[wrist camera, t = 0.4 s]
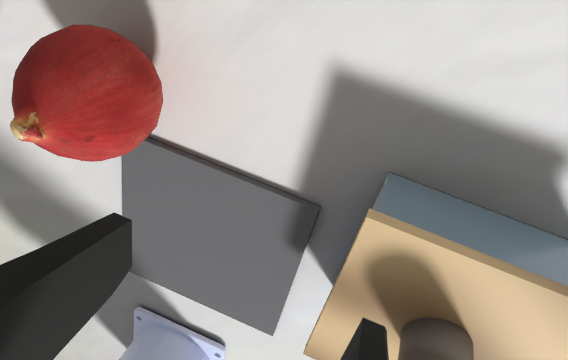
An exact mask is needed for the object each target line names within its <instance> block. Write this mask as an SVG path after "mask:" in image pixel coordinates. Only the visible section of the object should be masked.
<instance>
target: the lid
mask: <svg viewBox="0 0 568 360" xmlns="http://www.w3.org/2000/svg"><path fill="white" fill-rule="evenodd" d="M363 317H364V318H366V319H368V320H371V321H373V322H375V323H378V324H380V325H383V326H385V328H386V330H387V344H388V356H389V360H568V286H565V285H563V284H560V283H558V282H555V281H553V280H550V279H548V278H545V277H543V276H540V275H537V274H535V273H532V272H530V271H527V270H525V269H522V268H520V267H517V266H515V265H512V264H510V263H507V262H504V261H502V260H499V259H497V258H494V257H492V256H489V255H487V254H484V253H482V252H479V251H477V250H474V249H471V248H469V247H466V246H464V245H461V244H459V243H456V242H454V241H451V240H449V239H446V238H444V237H441V236H438V235H436V234H433V233H431V232H428V231H426V230H423V229H421V228H418V227H416V226H413V225H410V224H408V223H405V222H403V221H400V220H398V219H395V218H393V217H390V216H388V215H385V214H383V213H380V212H377V211H375V210H372V209H370V208H369V210H368V212H367V214H366V216H365V218H364V221H363V223H362V225H361V227H360V229H359V231H358V234H357V236H356V238H355V240H354V242H353V244H352V247H351V249H350V251H349V253H348V255H347V257H346V259H345V262H344V264H343V266H342V268H341V270H340V272H339V275H338V277H337V279H336V281H335V283H334V285H333V288H332V290H331V292H330V294H329V296H328V298H327V301H326V303H325V305H324V307H323V309H322V311H321V314H320V316H319V318H318V320H317V322H316V324H315V327H314V329H313V331H312V333H311V335H310V337H309V340H308V342H307V344H306V347H305V350H304V353H303V354H305V355H307V356H309V357H311V358H314V359H316V360H341V357H342V355H343V353H344V352H345V350H346V348H347V346H348V344H349V342H350V341H351V339H352V337H353V335H354V333H355V331H356V329H357V328H358V326H359V324H360V322H361V320H362V318H363Z"/></svg>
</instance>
